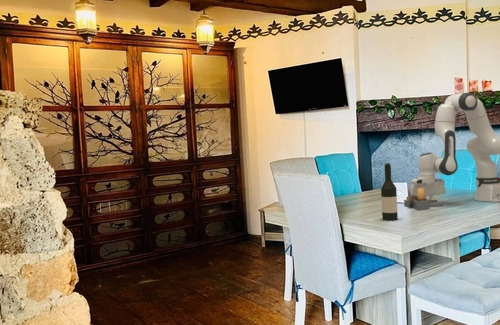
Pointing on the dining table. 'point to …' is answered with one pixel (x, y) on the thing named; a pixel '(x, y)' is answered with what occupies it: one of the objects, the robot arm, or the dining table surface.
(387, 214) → the wine bottle
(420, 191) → the round peg
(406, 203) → the bay
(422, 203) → the square tube sleeve
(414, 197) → the crate
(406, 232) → the dining table surface
